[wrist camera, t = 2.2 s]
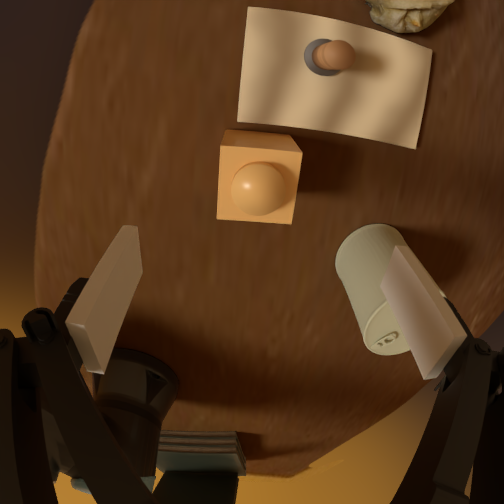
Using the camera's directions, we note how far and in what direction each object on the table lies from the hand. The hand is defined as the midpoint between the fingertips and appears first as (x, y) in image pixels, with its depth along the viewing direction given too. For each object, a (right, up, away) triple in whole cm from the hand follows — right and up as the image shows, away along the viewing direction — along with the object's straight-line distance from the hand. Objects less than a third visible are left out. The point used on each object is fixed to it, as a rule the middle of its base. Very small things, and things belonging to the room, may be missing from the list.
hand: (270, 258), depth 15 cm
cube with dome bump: (-1, +9, +14) cm, 17 cm away
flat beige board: (+7, +17, +9) cm, 20 cm away
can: (+13, 0, +21) cm, 25 cm away
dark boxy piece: (-15, -48, +51) cm, 71 cm away
